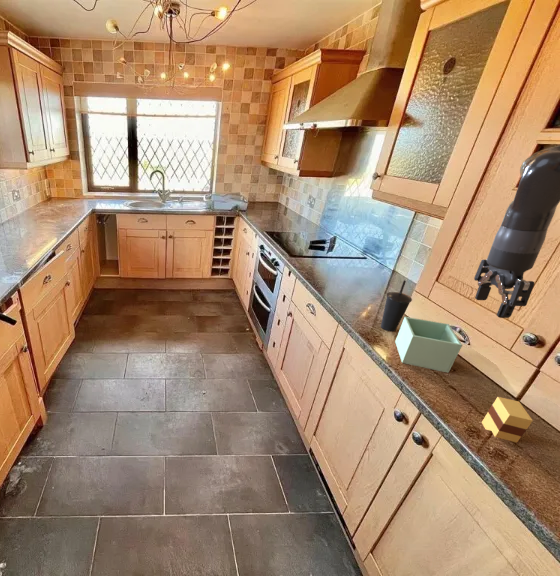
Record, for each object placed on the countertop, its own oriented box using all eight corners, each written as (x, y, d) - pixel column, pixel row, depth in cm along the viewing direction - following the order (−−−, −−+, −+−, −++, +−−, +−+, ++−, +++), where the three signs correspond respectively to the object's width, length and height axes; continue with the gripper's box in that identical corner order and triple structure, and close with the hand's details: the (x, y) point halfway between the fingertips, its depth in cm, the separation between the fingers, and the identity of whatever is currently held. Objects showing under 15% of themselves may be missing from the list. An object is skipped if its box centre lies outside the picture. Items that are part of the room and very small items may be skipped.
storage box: (436, 350, 105) (448, 324, 100) (448, 373, 95) (462, 345, 90) (395, 341, 109) (404, 316, 105) (401, 362, 99) (412, 335, 95)
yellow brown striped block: (501, 427, 77) (519, 401, 73) (514, 447, 72) (533, 421, 68) (481, 422, 79) (497, 396, 75) (491, 441, 74) (509, 415, 70)
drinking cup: (377, 331, 115) (393, 283, 106) (375, 320, 121) (390, 274, 112) (401, 335, 112) (420, 287, 103) (398, 325, 118) (415, 278, 110)
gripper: (564, 257, 62) (531, 324, 69) (514, 235, 74) (491, 294, 81) (517, 258, 64) (490, 323, 71) (476, 236, 76) (457, 294, 83)
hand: (490, 307), depth 76 cm, fingers open, 8 cm apart
